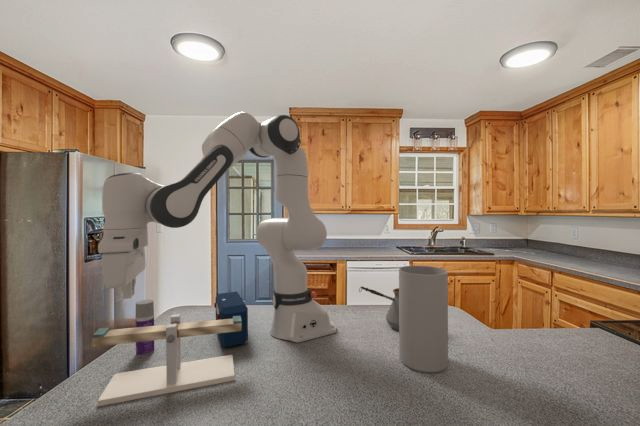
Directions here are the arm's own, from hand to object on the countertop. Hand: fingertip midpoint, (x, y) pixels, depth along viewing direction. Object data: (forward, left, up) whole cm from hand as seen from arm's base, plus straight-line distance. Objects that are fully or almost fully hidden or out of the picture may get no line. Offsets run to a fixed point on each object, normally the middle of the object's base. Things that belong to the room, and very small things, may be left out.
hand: (129, 296), depth 71 cm
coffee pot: (-77, -7, -21) cm, 80 cm away
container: (0, -16, -21) cm, 26 cm away
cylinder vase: (-73, +16, -21) cm, 78 cm away
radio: (-24, -20, -21) cm, 37 cm away
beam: (-10, +2, -10) cm, 14 cm away
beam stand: (-10, +2, -21) cm, 23 cm away
